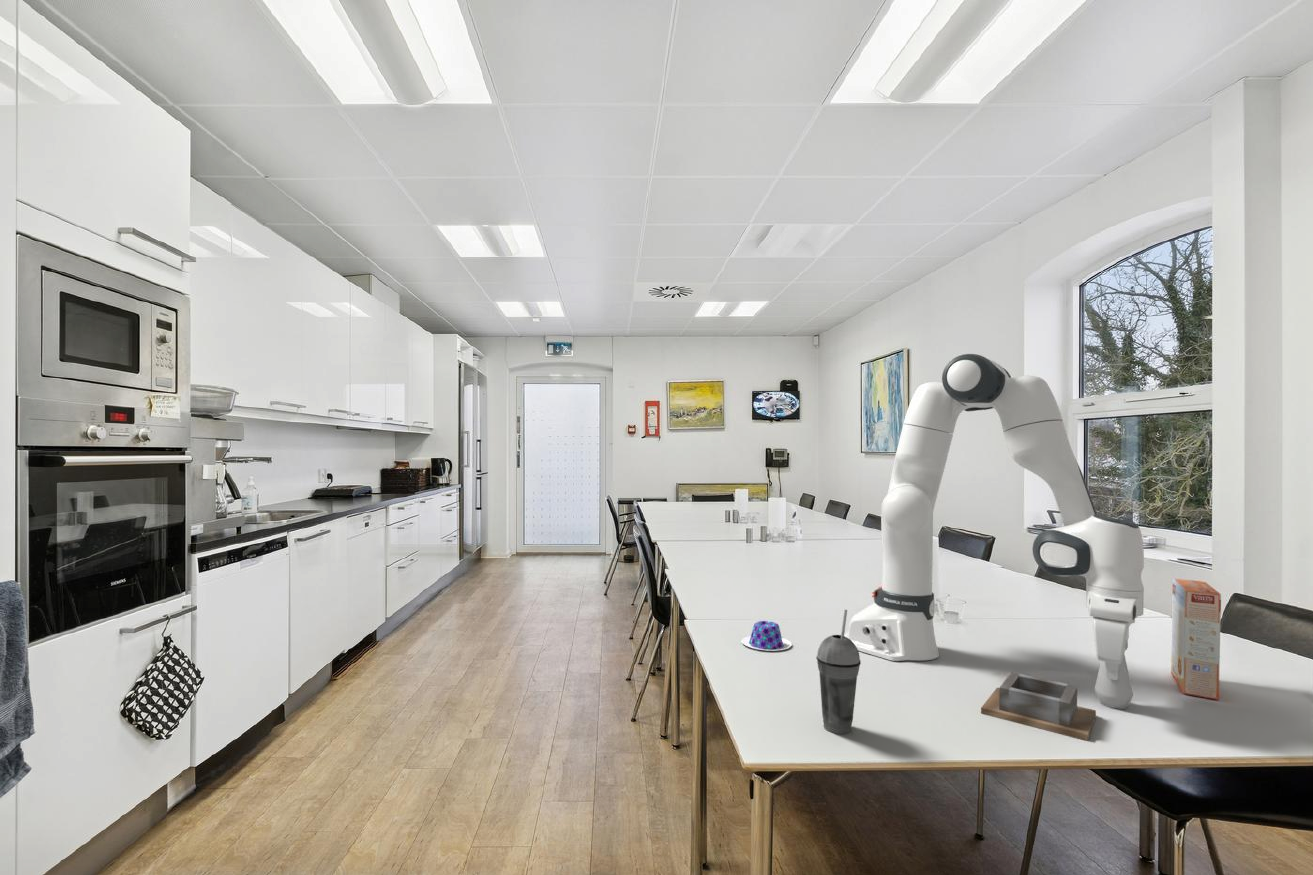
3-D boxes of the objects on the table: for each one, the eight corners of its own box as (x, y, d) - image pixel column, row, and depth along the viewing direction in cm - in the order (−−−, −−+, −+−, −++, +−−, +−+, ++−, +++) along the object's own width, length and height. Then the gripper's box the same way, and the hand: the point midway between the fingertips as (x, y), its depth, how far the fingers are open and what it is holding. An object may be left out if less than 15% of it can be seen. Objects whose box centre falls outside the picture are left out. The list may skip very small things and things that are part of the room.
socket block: (981, 713, 114) (981, 685, 114) (997, 692, 124) (997, 666, 124) (1087, 740, 104) (1088, 710, 104) (1095, 715, 114) (1096, 688, 114)
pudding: (743, 636, 159) (744, 615, 159) (792, 640, 156) (792, 619, 156) (738, 650, 148) (738, 628, 148) (790, 655, 145) (791, 633, 145)
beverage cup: (809, 719, 110) (811, 604, 111) (849, 718, 111) (851, 604, 111) (823, 738, 103) (825, 615, 103) (867, 737, 104) (868, 615, 104)
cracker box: (1221, 701, 122) (1222, 593, 122) (1181, 694, 125) (1182, 588, 125) (1206, 679, 134) (1207, 580, 134) (1170, 673, 137) (1171, 577, 137)
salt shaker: (1120, 699, 122) (1120, 632, 122) (1139, 711, 116) (1140, 641, 116) (1088, 697, 122) (1088, 630, 123) (1106, 709, 117) (1106, 639, 117)
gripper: (1099, 589, 129) (1098, 657, 129) (1088, 608, 114) (1087, 685, 114) (1137, 595, 125) (1137, 664, 125) (1131, 614, 110) (1131, 694, 110)
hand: (1113, 674), depth 119 cm, fingers closed on salt shaker, 4 cm apart
